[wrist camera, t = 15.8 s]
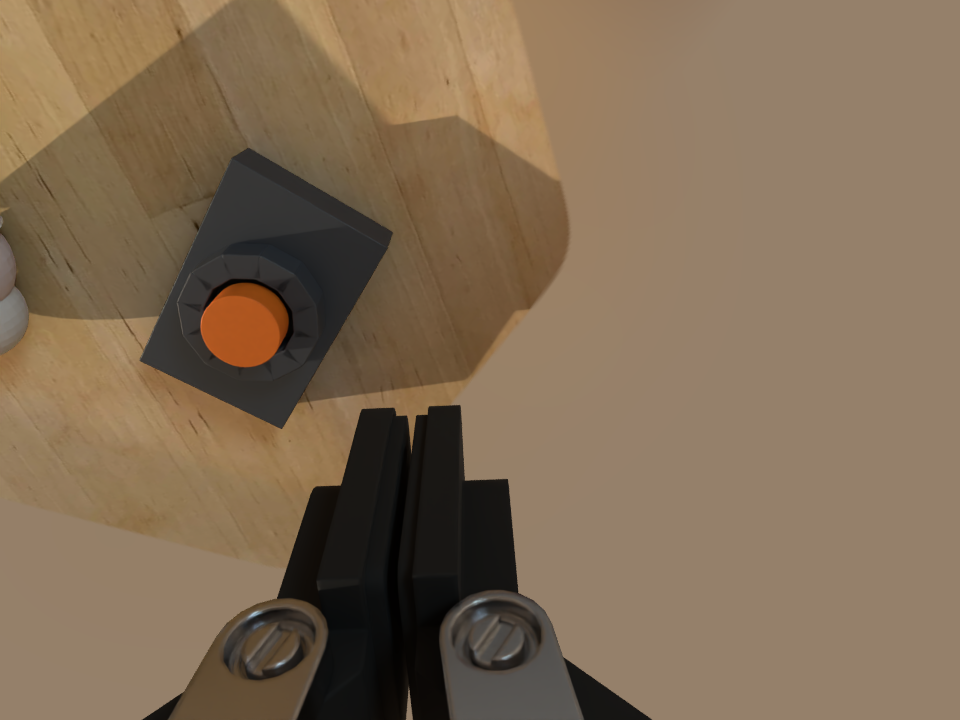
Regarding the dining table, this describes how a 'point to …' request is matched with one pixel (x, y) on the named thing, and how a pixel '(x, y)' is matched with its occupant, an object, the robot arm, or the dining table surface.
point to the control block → (267, 283)
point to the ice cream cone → (10, 300)
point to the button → (245, 324)
